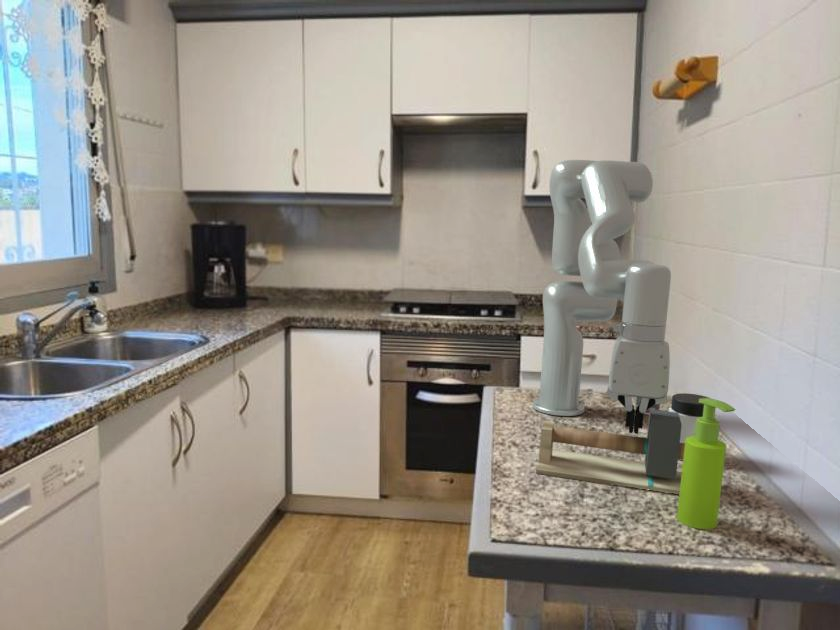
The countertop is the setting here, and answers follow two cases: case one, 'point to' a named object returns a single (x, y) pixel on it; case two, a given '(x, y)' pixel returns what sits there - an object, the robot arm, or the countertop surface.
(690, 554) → the countertop surface
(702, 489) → the soap dispenser
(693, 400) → the jar
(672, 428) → the collar
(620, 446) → the pipe rig
